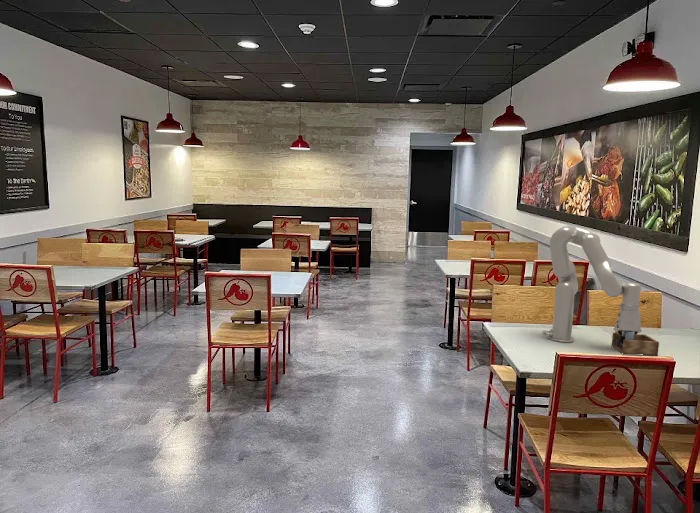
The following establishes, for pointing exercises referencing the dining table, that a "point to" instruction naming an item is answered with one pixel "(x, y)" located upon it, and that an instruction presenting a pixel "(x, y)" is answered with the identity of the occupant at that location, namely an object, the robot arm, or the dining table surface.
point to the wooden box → (636, 345)
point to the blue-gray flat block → (628, 335)
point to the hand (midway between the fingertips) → (626, 343)
